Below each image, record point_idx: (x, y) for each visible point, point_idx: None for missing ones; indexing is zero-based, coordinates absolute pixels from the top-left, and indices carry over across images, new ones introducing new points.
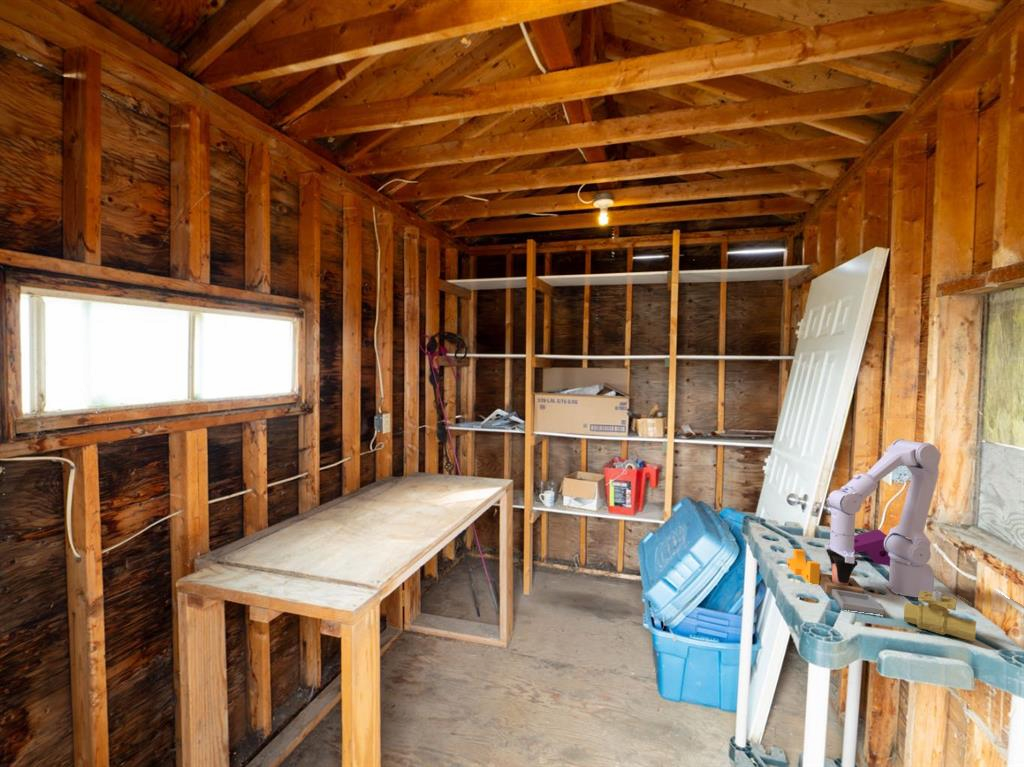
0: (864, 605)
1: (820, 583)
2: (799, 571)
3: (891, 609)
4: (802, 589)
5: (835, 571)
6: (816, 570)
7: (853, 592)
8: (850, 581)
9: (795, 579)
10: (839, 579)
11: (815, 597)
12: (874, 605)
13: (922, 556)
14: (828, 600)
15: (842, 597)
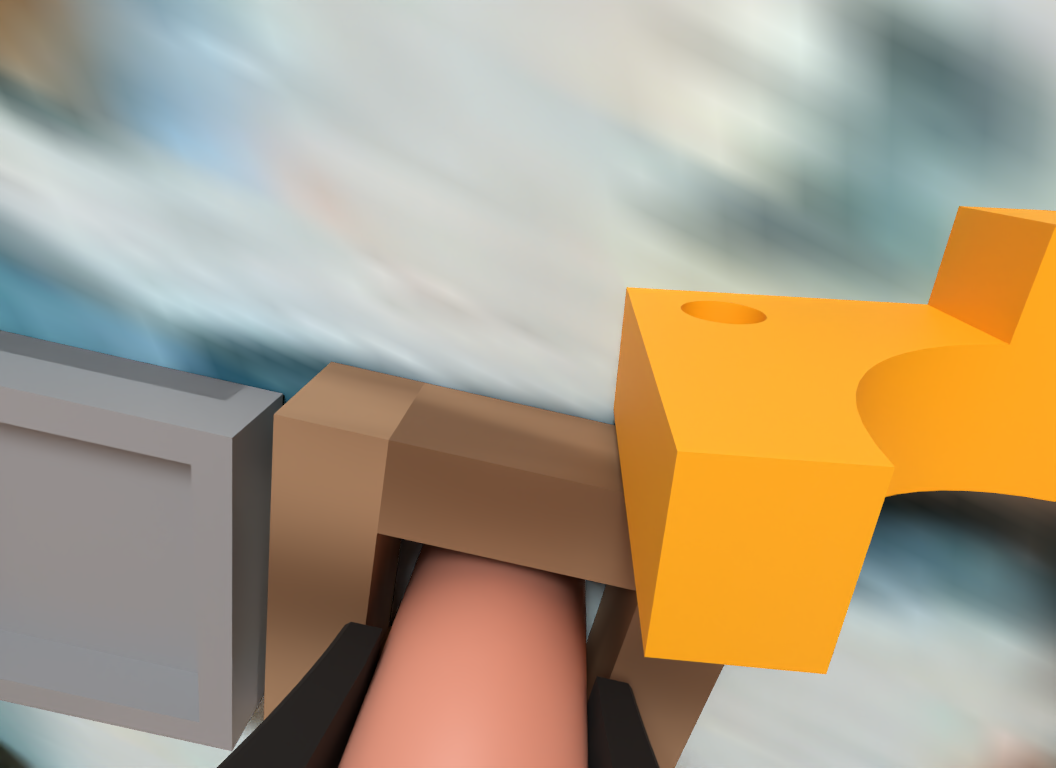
0: (57, 582)
1: (615, 435)
2: (988, 289)
3: (186, 750)
4: (376, 50)
5: (393, 740)
6: (633, 485)
7: (222, 633)
8: None
9: (791, 125)
10: (324, 653)
11: (134, 132)
12: (37, 659)
13: None
14: (115, 279)
15: (174, 469)
